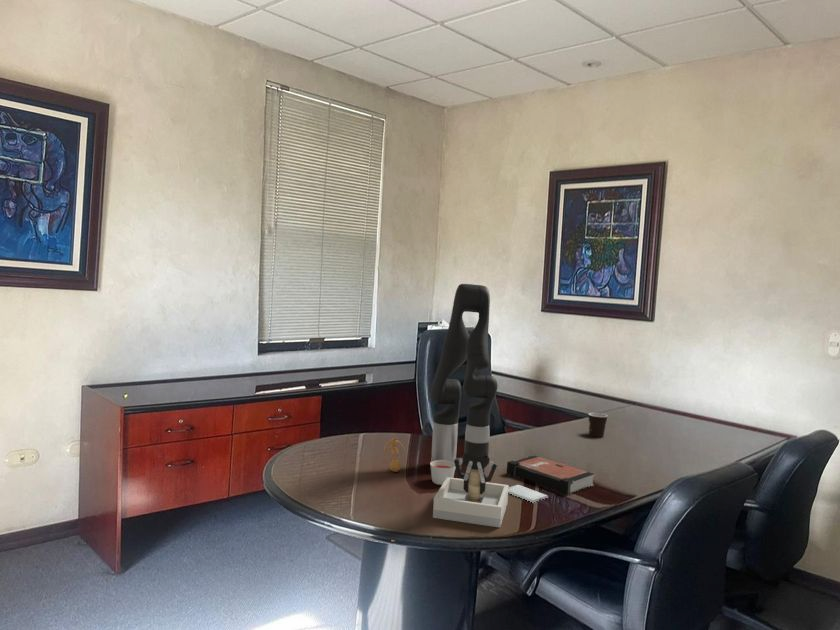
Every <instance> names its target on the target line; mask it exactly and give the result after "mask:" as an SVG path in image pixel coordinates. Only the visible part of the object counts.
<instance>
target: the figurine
mask: <svg viewBox="0 0 840 630" xmlns="http://www.w3.org/2000/svg"><path fill="white" fill-rule="evenodd" d="M389 444H390V445H391V446H390V447H391V448H390V453H391V460H392V461H391V462H390V463H389V469H390V471H392V472H393V473H397V472H399V471H400V470H401V466H402V465H401V463H400V461H399V460H398V455H399V451H398V447H397V444H400V446H401V447H402V448H403V450H404V451H406V450H405V449H406V448H405V447H404V445H403V444H402V442H401V441H399V440H397V439H396V437H393V438H390V440H388V441H387V442H386V443H385V444H384V448H383V453H386V448H387V445H389ZM394 454H395V459H394Z"/></svg>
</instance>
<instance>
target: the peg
mask: <svg viewBox="0 0 840 630" xmlns="http://www.w3.org/2000/svg"><path fill="white" fill-rule="evenodd" d="M480 483H481V478H480V475H479V470H477V469H471V470H470V473H469V479H468V496H467V500H469V501H471V502H478V501H480Z"/></svg>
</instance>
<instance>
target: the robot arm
mask: <svg viewBox="0 0 840 630" xmlns="http://www.w3.org/2000/svg"><path fill="white" fill-rule="evenodd" d="M454 294H455V295H454V298H453V303H452V304H453V305H452V309H451V316H450V320H449V324H448V328H447V332H446V335H445V339H444V343H443V346H442V350H441V355H440V359H439V363H438V366H437V369H436V371H435V375H434V376H433V380H432V383H431V387H430V390H429V391H430V392H429V393H430V395H429V396H430V399H431V402H432V403H433V404H435V405H447V406H446V407H445V408H443V409H442V410H439V411H437V412H435V413H434V414H433V421H432V437H431V438H432V439H431V440H432V441H431V458H430V459H431V460H430V463H431V462H432V461H437V460H444V461H450V462H453V463H455V467H456V468H455V471H456V474H457V477H458V479H463V480H464V490H465V492H467V493H468V479H469V473H470V470H471V469H477V470H479V475H480V478H481V483H480V494H483V493H484V492H485V485H486V482H488V483H491V480H492V479H493V476H494V473H495V471H496V470H497V466H498V462H494V461H492V460H490V457H489V451H490V435H491V434H490V433H491V432H490V423H491V422H490V420H491V419H490V418H491V410H492V406H493V404H494V400H495V397H496V395H497V392H498V391H497V390H498V388H499V387H498V386H499V385H498V384H499V383H498V381H497V379H496V378H495V376H493V375H488V374H487V375H485V374H483V375H482V374H475V373H477V372H478V373H479V372H483V371H486V370H487V369H488V368H489V367H490V354H489V353H490V351H489V340H488V339H489V328H490V327H489V323H490V306H491V305H490V302H491V301H490V300H491V299H490V298H491V297H490V290H489V288H488V287H487V286H486V285H482V284H474V283H473V284H472V283H460V284H459V285H458V286H457V288H456V291H455V293H454ZM464 312H466V313H467V312H468V313H478V320H477V322H476V325H475V326H474V328H473V330H472V332H471V333H470V334H469V332H468V330H467V327H466V325H465V322H464V319H463V314H464ZM465 362H466V372H465V376H464V380H463V383H462V384H463V385H461V382H460V380H459V379H456V378H455V379H454V378H453V379H452V378H451V379H450V378H449V377H450V376H451V375H452V374H453V373H454V372H455V371H457V370H458V369H459V368H460V367H461V366H462V365H463V364H464V363H465ZM462 391H463V394H464V395H465V397H467V398H470V399H471V398H472V399H473V398H474V399H482V400H481V401H480V402H479V403H475V404H471V405H469V406H468V408H467V412H466V427H465V435H464V448H463V449H464V451H463V452H464V453H463V455H462V456H461V457H457V448H458V447H457V446H458V445H457V444H458V432H459V431H458V428H459V418H460V406H461V399H462ZM463 463H464V465H465V466H466V471H465V473H464V471H463V467H462V464H463ZM488 465H489V469H490V472H489V473H488V476H486V471H485V470H486V469H485V468H486V467H488Z"/></svg>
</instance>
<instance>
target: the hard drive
mask: <svg viewBox="0 0 840 630" xmlns="http://www.w3.org/2000/svg"><path fill="white" fill-rule="evenodd" d="M508 493H509V494H508V495H510V494H512V495H511V496H513V495H514V496H513V497H515V496H517V497H516V498H518V497H520V498H522V499H521V500H523V499H525V500H527V501H526V502H528V501H530V502H529V503H531V502H532V504H535V503H537V502H536V501H538V502H540V501H539V500H541V501H543V500H542V499H544V500H546V499H545V498H547V499H549V495H547V494H546V493H542V492H540V491H536V490H534V489H531V488H528V487H525V486H523V485H520V484H516V485H512V486H509V488H508ZM520 498H519V499H520ZM525 500H524V501H525ZM534 502H535V503H534Z"/></svg>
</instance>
